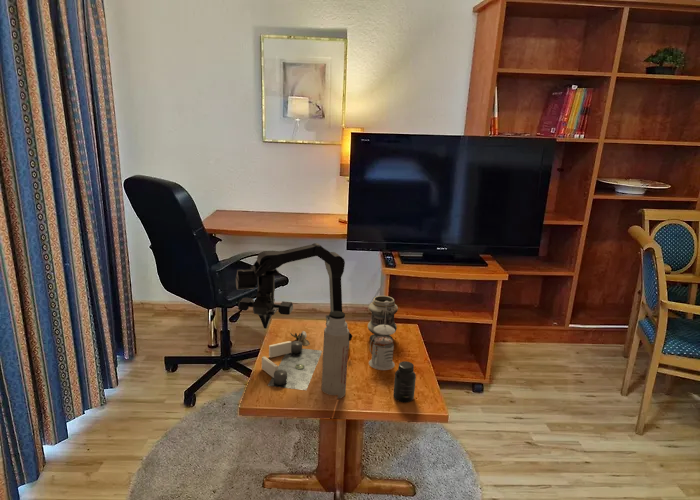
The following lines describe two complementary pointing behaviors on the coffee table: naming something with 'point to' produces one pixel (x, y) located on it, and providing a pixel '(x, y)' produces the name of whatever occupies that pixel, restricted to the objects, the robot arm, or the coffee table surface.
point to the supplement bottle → (404, 382)
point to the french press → (382, 347)
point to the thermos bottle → (335, 355)
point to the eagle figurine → (301, 338)
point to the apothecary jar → (382, 314)
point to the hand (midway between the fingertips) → (265, 328)
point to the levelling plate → (298, 368)
